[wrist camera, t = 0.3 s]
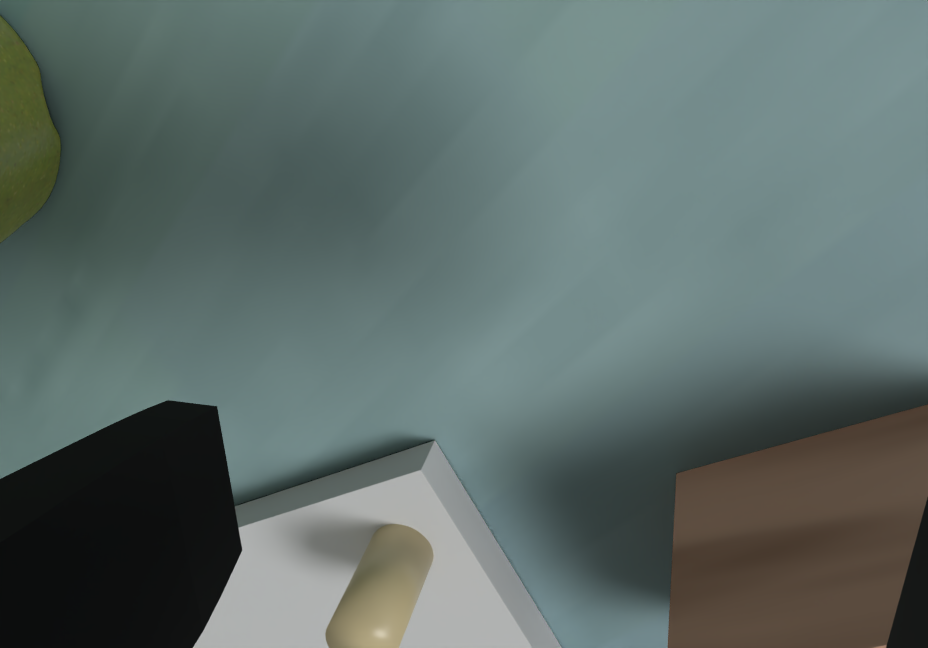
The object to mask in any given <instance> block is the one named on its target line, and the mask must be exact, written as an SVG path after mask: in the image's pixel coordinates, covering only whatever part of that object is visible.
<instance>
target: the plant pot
mask: <svg viewBox="0 0 928 648" xmlns="http://www.w3.org/2000/svg"><path fill="white" fill-rule="evenodd" d="M60 154H61V143H60V137H59V134H58V132H57V130H56V129H55V127H54V125H53V122H52V120H51V118H50V114H49V111H48V108H47V105H46V101H45V98H44V93H43V88H42V83H41V74H40V70H39V67H38V65H37V63H36V61H35V60H34V58H33V56H32V55H31V53H30V52H29V50H28V48H27V47H26V45H25V44H24V43H23V41H22V40H21V39H20V37H19V36H18V35H17V33H16V32H15V31H14V29H13V28H12V27H11V26H10V25H9V24H8V23H7V22H6V21H5V20H4V19H3V18H2V17H1V16H0V243H1V242H2V241H4V240H5V239H6V238H7V237H9V236H10V235H11V234H12V233H13V232H15V231H16V230H17V229H18V228H19V227H20V226H21V225H23V224H24V223H25V222H26V221H28V220H29V219H30V218H31V217H32V216H33V215H34V214H36V213H37V212H38V211H39V210H40V209H41V208H42V206H43V205H44V203H45V202H46V200H47V199H48V198H49V196H50V194H51V192H52V189H53V187H54V184H55V181H56V178H57V173H58V169H59V164H60Z"/></svg>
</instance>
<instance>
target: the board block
mask: <svg viewBox="0 0 928 648" xmlns="http://www.w3.org/2000/svg"><path fill="white" fill-rule="evenodd" d="M927 497H928V404H927V405H924V406H920V407H917V408H913V409H909V410H906V411H902V412H898V413H895V414H891V415H887V416H884V417H880V418H876V419H873V420H869V421H866V422H862V423H858V424H855V425H851V426H847V427H844V428H840V429H836V430H833V431H829V432H825V433H822V434H818V435H815V436H811V437H807V438H804V439H800V440H796V441H793V442H789V443H785V444H782V445H778V446H775V447H771V448H767V449H764V450H760V451H756V452H753V453H749V454H745V455H742V456H738V457H734V458H731V459H727V460H724V461H720V462H716V463H713V464H709V465H705V466H702V467H698V468H694V469H691V470H687V471H683V472H680V473H676V491H675V511H674V531H673V551H672V571H671V591H670V611H669V631H668V648H886V646H887V642H888V639H889V635H890V631H891V628H892V624H893V620H894V617H895V613H896V610H897V606H898V602H899V599H900V595H901V591H902V588H903V584H904V581H905V577H906V573H907V570H908V566H909V563H910V559H911V555H912V552H913V548H914V544H915V541H916V537H917V534H918V530H919V526H920V523H921V519H922V515H923V512H924V508H925V505H926V501H927Z"/></svg>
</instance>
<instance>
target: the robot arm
mask: <svg viewBox="0 0 928 648" xmlns="http://www.w3.org/2000/svg"><path fill="white" fill-rule="evenodd" d="M241 552H242V545H241V540H240V534H239V528H238V523H237V517H236V511H235V506H234V500H233V494H232V489H231V483H230V478H229V472H228V466H227V461H226V455H225V449H224V444H223V438H222V432H221V427H220V421H219V415H218V410H217V406H209V405H201V404H193V403H185V402H177V401H169V400H168V401H165V402H162V403H160V404H157V405H155V406H152V407H150V408H147V409H145V410H142V411H140V412H138V413H136V414H133V415H131V416H129V417H127V418H125V419H122V420H120V421H118V422H116V423H114V424H112V425H110V426H107V427H105V428H103V429H101V430H99V431H97V432H95V433H93V434H91V435H89V436H87V437H85V438H83V439H81V440H79V441H77V442H75V443H73V444H71V445H69V446H66V447H64V448H62V449H60V450H58V451H56V452H54V453H52V454H50V455H48V456H46V457H44V458H42V459H40V460H38V461H36V462H34V463H32V464H30V465H28V466H26V467H24V468H22V469H20V470H18V471H16V472H14V473H12V474H10V475H8V476H5V477H3V478H1V479H0V648H193V647H194V645H195V644H196V642H197V640H198V639H199V637H200V636H201V634H202V632H203V631H204V629H205V627H206V625H207V623H208V621H209V619H210V617H211V615H212V613H213V611H214V609H215V607H216V605H217V603H218V601H219V599H220V597H221V595H222V593H223V591H224V589H225V587H226V585H227V583H228V580H229V578H230V576H231V574H232V572H233V570H234V567H235V565H236V563H237V561H238V559H239V557H240V554H241ZM886 648H928V497H927V501H926V505H925V508H924V512H923V515H922V519H921V523H920V526H919V530H918V534H917V537H916V541H915V544H914V548H913V552H912V555H911V559H910V563H909V566H908V570H907V573H906V577H905V581H904V584H903V588H902V591H901V595H900V599H899V602H898V606H897V610H896V613H895V617H894V620H893V624H892V628H891V631H890V635H889V639H888V642H887V646H886Z"/></svg>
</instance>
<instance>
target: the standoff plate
mask: <svg viewBox="0 0 928 648" xmlns="http://www.w3.org/2000/svg"><path fill="white" fill-rule="evenodd" d="M235 511H236V517H237V523H238V528H239V534H240V540H241V545H242V552H241V554H240V557H239V559H238V561H237V563H236V565H235V567H234V570H233V572H232V574H231V576H230V578H229V580H228V583H227V585H226V587H225V589H224V591H223V593H222V595H221V597H220V599H219V601H218V603H217V605H216V607H215V609H214V611H213V613H212V615H211V617H210V619H209V621H208V623H207V625H206V627H205V629H204V631H203V632H202V634H201V636H200V637H199V639H198V640H197V642H196V644H195V645H194V647H193V648H562V647H561V646H560V644H559V642H558V641H557V639H556V637H555V636H554V634H553V632H552V631H551V629H550V628H549V626H548V624H547V623H546V621H545V619H544V618H543V616H542V615H541V613H540V611H539V610H538V608H537V606H536V605H535V603H534V601H533V600H532V598H531V597H530V595H529V593H528V592H527V590H526V588H525V587H524V585H523V583H522V582H521V580H520V579H519V577H518V575H517V574H516V572H515V570H514V569H513V567H512V565H511V564H510V562H509V561H508V559H507V557H506V556H505V554H504V552H503V551H502V549H501V547H500V546H499V544H498V543H497V541H496V539H495V538H494V536H493V534H492V533H491V531H490V529H489V528H488V526H487V525H486V523H485V521H484V520H483V518H482V516H481V515H480V513H479V512H478V510H477V508H476V507H475V505H474V503H473V502H472V500H471V498H470V497H469V495H468V494H467V492H466V490H465V489H464V487H463V485H462V484H461V482H460V480H459V479H458V477H457V476H456V474H455V472H454V471H453V469H452V467H451V466H450V464H449V462H448V461H447V459H446V458H445V456H444V454H443V453H442V451H441V449H440V448H439V446H438V444H437V443H436V441H435V440H434V441H431V442H428V443H425V444H422V445H419V446H416V447H413V448H410V449H407V450H404V451H401V452H398V453H395V454H392V455H389V456H386V457H383V458H380V459H377V460H374V461H371V462H368V463H365V464H362V465H359V466H356V467H353V468H350V469H347V470H344V471H341V472H338V473H335V474H332V475H329V476H326V477H323V478H319V479H316V480H313V481H310V482H307V483H304V484H301V485H298V486H295V487H292V488H289V489H286V490H283V491H280V492H277V493H274V494H271V495H268V496H265V497H262V498H259V499H256V500H253V501H250V502H247V503H244V504H241V505H238V506H235Z"/></svg>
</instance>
